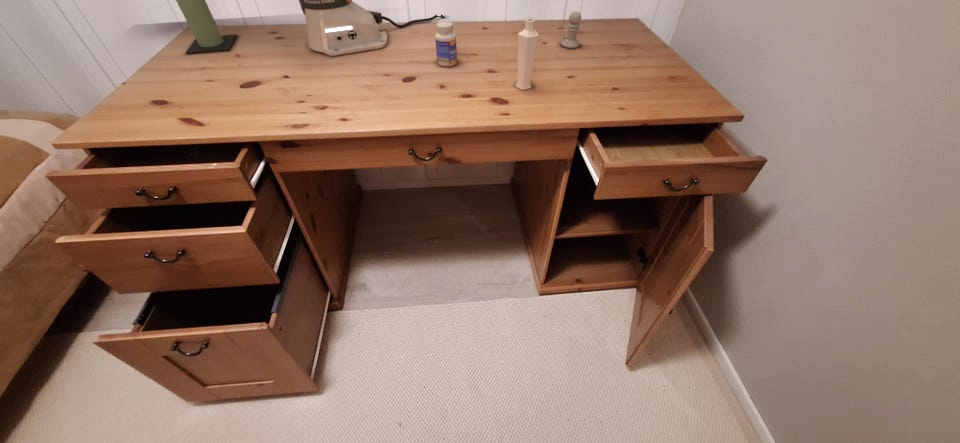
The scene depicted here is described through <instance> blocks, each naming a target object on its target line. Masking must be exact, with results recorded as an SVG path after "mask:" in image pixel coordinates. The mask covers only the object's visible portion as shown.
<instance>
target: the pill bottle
mask: <svg viewBox="0 0 960 443" xmlns="http://www.w3.org/2000/svg"><path fill="white" fill-rule="evenodd" d="M436 30H437V32H436V33H435V35H434V42H435V52H436V53H435V54H436V63H437V64H438V65H439V66H441V67H453V66H455V65H457V63H458V49H457V34H456V33H455V32H454V25H453V23H452V22H451V21H440V22H437V24H436Z"/></svg>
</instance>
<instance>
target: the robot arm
mask: <svg viewBox="0 0 960 443" xmlns="http://www.w3.org/2000/svg"><path fill="white" fill-rule="evenodd" d="M298 3H299V7H300V9H301V11H302V14H303V15H304V19H305V23H306V28H307V29H306V32H307V38H308V39H307V40H308V41H307V42H308V45H307V46H308V48H309V49H310V50H312V51H315V52H318V53H322V54H325V55H328V56H330V57H336V56H341V55H348V54H354V53H360V52H365V51H374V50H377V49H382V48H384V47H386V45H387V44H388V43H389V38H388V34H387V31H386V30H384V29H383V28H381V27H379V26H378V25H380V24H382V23H383V20H385V21H387V22H389V23H390V24H391V25H393V26H394V27H396V28H398V29H399V28H401V29H402V28H406V27H408V26H409V25H412V24H418V23H425V22H431V21H433V20H435V19H437V18H442V19H446V17H445V16H444V15H443V14H441V16H437V14H435V15H433V16H431V17H428V18H421V19H420V18H419V19H413V20H410V21H408V22H406V23H404V24H398V23H396V22H395V21H394V20H392V19H390V18H389V17H386V16H383V15H382V12H378V11H371V10H367V9H365V8H364V7H362V6H361V5H359V4H357V3H356V2H354V0H298Z"/></svg>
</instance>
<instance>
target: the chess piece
mask: <svg viewBox="0 0 960 443" xmlns="http://www.w3.org/2000/svg"><path fill="white" fill-rule="evenodd" d="M581 20H582V14H581V13H580V12H579V11H576V10H575V11H573V12H571V13H570V14H569V16H568V23H567V26H566V30H567V34H566V37H565V38H564V39H562V40H561V41H560V45H561V46H562V48H566V49H576V48H578V47H579V46H580V42H579V40H578V39H577V36H578V31H579V30H580V27H581V25H580V23H581Z"/></svg>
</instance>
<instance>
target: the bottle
mask: <svg viewBox="0 0 960 443" xmlns="http://www.w3.org/2000/svg"><path fill="white" fill-rule="evenodd" d="M175 2H176V4H177V6H178V8H179V10H180V11H181V13H182V15H183V17H184V18H185V21H186V22H187V25H188V27H189V28H190V30H191V32H192V34H193V36H194V38H195V39H196V40H197V42H198V44H199V46H201V47H213V46H217V45H220V44H222V43H223V42H224V40H223V37H222V33H221V31H220V29H219V27H218V24H217V23H216V21H215V20H216V19H215V18H214V17H213V14H212V12H211V10H210V7H209V6H208V3H207V1H206V0H175Z"/></svg>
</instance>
